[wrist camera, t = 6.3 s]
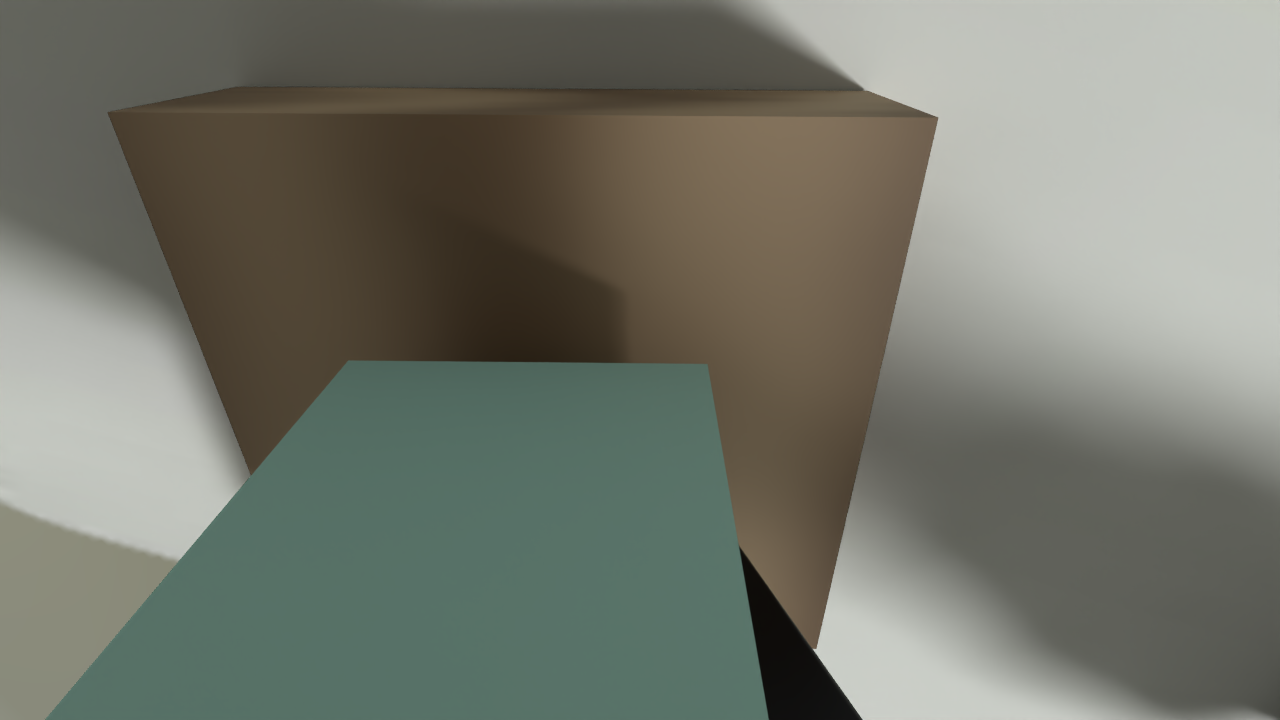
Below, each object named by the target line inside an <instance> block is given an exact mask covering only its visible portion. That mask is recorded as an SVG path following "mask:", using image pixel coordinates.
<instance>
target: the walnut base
mask: <svg viewBox="0 0 1280 720" xmlns="http://www.w3.org/2000/svg"><path fill="white" fill-rule="evenodd" d="M108 115H109V117H110V120H111V122H112V125H113V127H114V130H115V132H116V135H117V137H118V140H119V142H120V145H121V147H122V150H123V153H124V155H125V158H126V160H127V163H128V165H129V168H130V170H131V173H132V175H133V178H134V180H135V183H136V185H137V188H138V190H139V193H140V196H141V198H142V201H143V203H144V206H145V208H146V211H147V213H148V216H149V218H150V221H151V223H152V226H153V228H154V231H155V233H156V236H157V239H158V241H159V244H160V246H161V249H162V251H163V254H164V256H165V259H166V261H167V264H168V266H169V269H170V271H171V274H172V276H173V279H174V282H175V284H176V287H177V289H178V292H179V294H180V297H181V299H182V302H183V304H184V307H185V309H186V312H187V314H188V317H189V319H190V322H191V325H192V327H193V330H194V332H195V335H196V337H197V340H198V342H199V345H200V347H201V350H202V352H203V355H204V357H205V360H206V362H207V365H208V368H209V370H210V373H211V375H212V378H213V380H214V383H215V385H216V388H217V390H218V393H219V395H220V398H221V400H222V403H223V405H224V408H225V411H226V413H227V416H228V418H229V421H230V423H231V426H232V428H233V431H234V433H235V436H236V438H237V441H238V443H239V446H240V448H241V451H242V454H243V456H244V459H245V461H246V464H247V466H248V469H249V471H250V474H251V475H252V474H253V473H254V472H255V470H256V469H257V468H258V467H259V466H260V465H261V463H262V462H263V461H264V460H265V459H266V457H267V456H268V455H269V454H270V453H271V452H272V450H273V449H274V448H275V447H276V446H277V444H278V443H279V442H280V441H281V440H282V438H283V437H284V436H285V435H286V434H287V433H288V431H289V430H290V429H291V428H292V427H293V425H294V424H295V423H296V422H297V421H298V420H299V418H300V417H301V416H302V415H303V414H304V412H305V411H306V410H307V409H308V408H309V407H310V405H311V404H312V403H313V402H314V401H315V399H316V398H317V397H318V396H319V395H320V393H321V392H322V391H323V390H324V389H325V388H326V386H327V385H328V384H329V383H330V382H331V380H332V379H333V378H334V377H335V376H336V375H337V373H338V372H339V371H340V370H341V369H342V367H343V366H344V365H345V364H346V363H347V361H454V362H560V363H665V364H708V370H709V376H710V381H711V387H712V393H713V399H714V405H715V410H716V416H717V422H718V428H719V434H720V439H721V445H722V451H723V457H724V463H725V469H726V474H727V480H728V486H729V492H730V498H731V503H732V509H733V515H734V521H735V527H736V532H737V538H738V544H739V546H740V547H741V549H742V550H743V552H744V553H745V554H746V556H747V557H748V559H749V560H750V561H751V563H752V564H753V566H754V567H755V569H756V570H757V571H758V573H759V574H760V576H761V577H762V578H763V580H764V581H765V583H766V584H767V585H768V587H769V588H770V590H771V591H772V593H773V594H774V595H775V597H776V598H777V600H778V601H779V602H780V604H781V605H782V607H783V608H784V609H785V611H786V612H787V614H788V615H789V617H790V618H791V619H792V621H793V622H794V624H795V625H796V626H797V628H798V629H799V631H800V632H801V633H802V635H803V636H804V638H805V639H806V641H807V642H808V643H809V645H810V646H811V648H812V649H816V648H817V643H818V639H819V635H820V630H821V626H822V622H823V617H824V613H825V609H826V604H827V600H828V596H829V591H830V587H831V582H832V578H833V574H834V569H835V565H836V561H837V556H838V552H839V548H840V543H841V539H842V535H843V530H844V526H845V522H846V517H847V513H848V508H849V504H850V500H851V495H852V491H853V487H854V482H855V478H856V474H857V469H858V465H859V461H860V456H861V452H862V448H863V443H864V439H865V435H866V430H867V426H868V421H869V417H870V413H871V408H872V404H873V400H874V395H875V391H876V387H877V382H878V378H879V374H880V369H881V365H882V361H883V356H884V352H885V347H886V343H887V339H888V334H889V330H890V326H891V321H892V317H893V313H894V308H895V304H896V300H897V295H898V291H899V287H900V282H901V278H902V274H903V269H904V265H905V260H906V256H907V252H908V247H909V243H910V239H911V234H912V230H913V226H914V221H915V217H916V213H917V208H918V204H919V200H920V195H921V191H922V186H923V182H924V178H925V173H926V169H927V165H928V160H929V156H930V152H931V147H932V143H933V139H934V134H935V130H936V126H937V121H938V117H935V116H933V115H930V114H927V113H925V112H922V111H919V110H917V109H914V108H912V107H909V106H906V105H904V104H901V103H898V102H896V101H893V100H890V99H888V98H885V97H882V96H880V95H877V94H875V93H872V92H869V91H816V90H658V89H500V88H343V87H234V88H229V89H224V90H218V91H213V92H208V93H203V94H198V95H193V96H188V97H183V98H178V99H172V100H167V101H162V102H157V103H152V104H147V105H142V106H137V107H132V108H127V109H121V110H116V111H111V112H108Z"/></svg>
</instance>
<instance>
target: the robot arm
mask: <svg viewBox="0 0 1280 720" xmlns="http://www.w3.org/2000/svg"><path fill="white" fill-rule="evenodd" d="M739 550H740V556H741V562H742V567H743V573H744V579H745V585H746V591H747V596H748V602H749V608H750V614H751V620H752V625H753V631H754V637H755V643H756V649H757V655H758V660H759V666H760V672H761V678H762V684H763V689H764V695H765V701H766V707H767V713H768V718H769V720H862V718H861V717H860V715H859V714H858V713H857V711H856V710H855V708H854V707H853V706H852V704H851V703H850V701H849V700H848V698H847V697H846V696H845V694H844V693H843V691H842V690H841V689H840V687H839V686H838V684H837V683H836V682H835V680H834V679H833V677H832V676H831V674H830V673H829V672H828V670H827V669H826V667H825V666H824V665H823V663H822V662H821V660H820V659H819V658H818V656H817V655H816V653H815V652H814V650H813V649H812V648H811V646H810V645H809V643H808V642H807V641H806V639H805V638H804V636H803V635H802V633H801V632H800V631H799V629H798V628H797V626H796V625H795V624H794V622H793V621H792V619H791V618H790V617H789V615H788V614H787V612H786V611H785V609H784V608H783V607H782V605H781V604H780V602H779V601H778V600H777V598H776V597H775V595H774V594H773V593H772V591H771V590H770V588H769V587H768V585H767V584H766V583H765V581H764V580H763V578H762V577H761V576H760V574H759V573H758V571H757V570H756V569H755V567H754V566H753V564H752V563H751V561H750V560H749V559H748V557H747V556H746V554H745V553H744V552H743V550H742V549H741V547H740V546H739Z"/></svg>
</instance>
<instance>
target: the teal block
mask: <svg viewBox="0 0 1280 720" xmlns="http://www.w3.org/2000/svg"><path fill="white" fill-rule="evenodd" d="M45 720H769V718H768V713H767V707H766V701H765V695H764V689H763V684H762V678H761V672H760V666H759V660H758V655H757V649H756V643H755V637H754V631H753V625H752V620H751V614H750V608H749V602H748V596H747V591H746V585H745V579H744V573H743V567H742V562H741V556H740V550H739V544H738V538H737V532H736V527H735V521H734V515H733V509H732V503H731V498H730V492H729V486H728V480H727V474H726V469H725V463H724V457H723V451H722V445H721V439H720V434H719V428H718V422H717V416H716V410H715V405H714V399H713V393H712V387H711V381H710V376H709V370H708V364H665V363H560V362H454V361H347V363H346V364H345V365H344V366H343V367H342V369H341V370H340V371H339V372H338V373H337V375H336V376H335V377H334V378H333V379H332V380H331V382H330V383H329V384H328V385H327V386H326V388H325V389H324V390H323V391H322V392H321V393H320V395H319V396H318V397H317V398H316V399H315V401H314V402H313V403H312V404H311V405H310V407H309V408H308V409H307V410H306V411H305V412H304V414H303V415H302V416H301V417H300V418H299V420H298V421H297V422H296V423H295V424H294V425H293V427H292V428H291V429H290V430H289V431H288V433H287V434H286V435H285V436H284V437H283V438H282V440H281V441H280V442H279V443H278V444H277V446H276V447H275V448H274V449H273V450H272V452H271V453H270V454H269V455H268V456H267V457H266V459H265V460H264V461H263V462H262V463H261V465H260V466H259V467H258V468H257V469H256V470H255V472H254V473H253V474H252V475H251V476H250V478H249V479H248V480H247V481H246V482H245V484H244V485H243V486H242V487H241V488H240V489H239V491H238V492H237V493H236V494H235V495H234V497H233V498H232V499H231V500H230V501H229V502H228V504H227V505H226V506H225V507H224V508H223V510H222V511H221V512H220V513H219V514H218V515H217V517H216V518H215V519H214V520H213V521H212V523H211V524H210V525H209V526H208V527H207V529H206V530H205V531H204V532H203V533H202V534H201V536H200V537H199V538H198V539H197V540H196V542H195V543H194V544H193V545H192V546H191V547H190V549H189V550H188V551H187V552H186V553H185V555H184V556H183V557H182V558H181V559H180V561H179V562H178V563H177V564H176V565H175V566H174V568H173V569H172V570H171V571H170V572H169V574H168V575H167V576H166V577H165V578H164V579H163V581H162V582H161V583H160V584H159V586H158V587H157V588H156V589H155V590H154V591H153V592H152V594H151V595H150V596H149V597H148V598H147V600H146V601H145V602H144V603H143V604H142V606H141V607H140V608H139V609H138V610H137V612H136V613H135V614H134V615H133V616H132V617H131V619H130V620H129V621H128V622H127V623H126V624H125V626H124V627H123V628H122V629H121V630H120V632H119V633H118V634H117V635H116V636H115V638H114V639H113V640H112V641H111V642H110V643H109V645H108V646H107V647H106V648H105V649H104V651H103V652H102V653H101V654H100V655H99V657H98V658H97V659H96V660H95V661H94V662H93V664H92V665H91V666H90V667H89V668H88V670H87V671H86V672H85V673H84V674H83V676H82V677H81V678H80V679H79V680H78V681H77V683H76V684H75V685H74V686H73V687H72V688H71V690H70V691H69V692H68V693H67V694H66V696H65V697H64V698H63V699H62V700H61V702H60V703H59V704H58V705H57V706H56V707H55V709H54V710H53V711H52V712H51V713H50V715H49V716H48V717H47V718H46V719H45Z"/></svg>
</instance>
